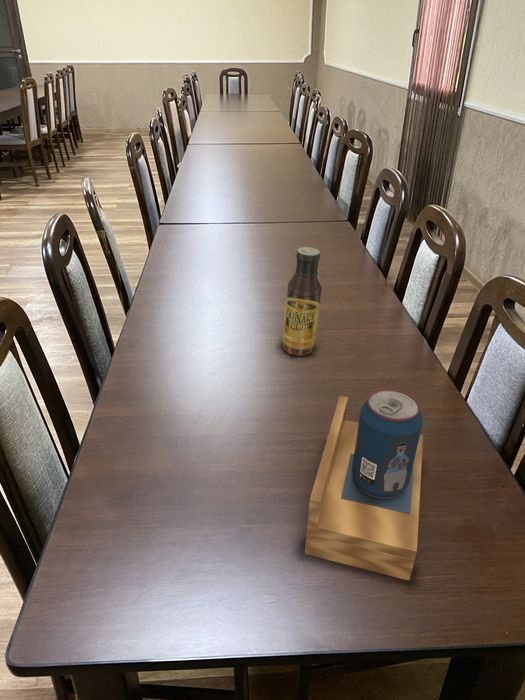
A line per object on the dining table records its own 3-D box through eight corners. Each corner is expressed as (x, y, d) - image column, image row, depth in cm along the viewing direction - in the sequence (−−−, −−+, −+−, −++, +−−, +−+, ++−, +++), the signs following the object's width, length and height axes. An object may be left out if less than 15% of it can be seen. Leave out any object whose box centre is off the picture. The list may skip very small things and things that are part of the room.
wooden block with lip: (417, 461, 76) (428, 411, 72) (409, 580, 60) (423, 525, 55) (333, 444, 79) (339, 395, 74) (304, 554, 63) (309, 499, 58)
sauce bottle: (278, 355, 100) (283, 254, 90) (285, 339, 106) (290, 242, 95) (313, 360, 99) (322, 258, 89) (318, 343, 104) (327, 246, 94)
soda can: (371, 453, 70) (384, 377, 64) (418, 481, 66) (437, 403, 60) (339, 481, 66) (349, 402, 59) (387, 512, 62) (404, 431, 55)
